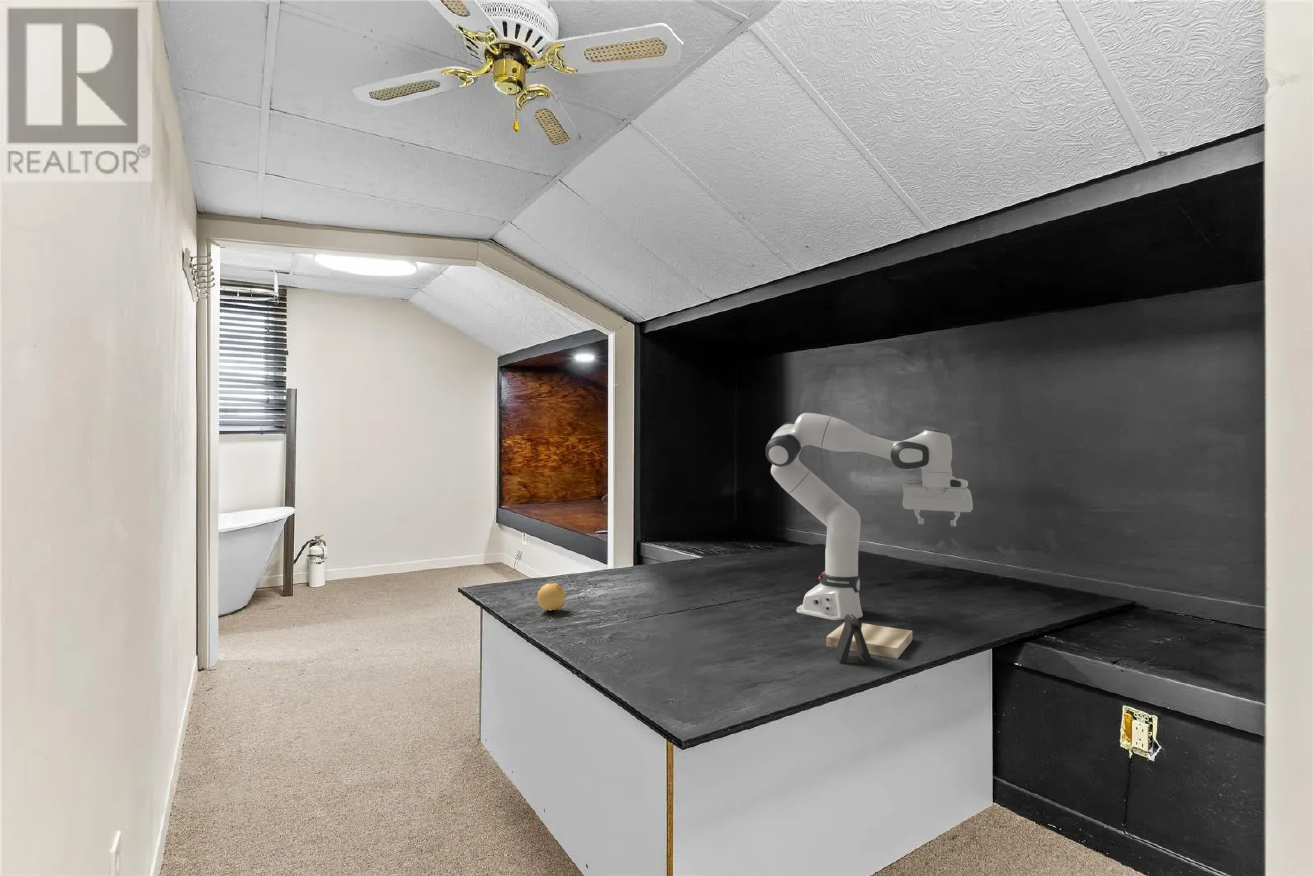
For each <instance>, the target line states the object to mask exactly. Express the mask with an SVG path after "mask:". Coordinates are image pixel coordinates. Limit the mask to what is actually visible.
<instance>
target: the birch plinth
mask: <svg viewBox="0 0 1313 876" xmlns="http://www.w3.org/2000/svg"><path fill="white" fill-rule="evenodd" d="M861 624H862V627H861V631H862V634H863V637H864V640H865V642H866V645H867V648H868V651H869V653H870V655H874V656H879V657H880V656H881V657H884V658H885V657H886V658H891V659H896V660H897V659H898V658H899V657H900V656H901V655H902V654H903V652H905V650H906V648H907V647H909V645H910V644H911V643H912V641H913V630H909V629H903V628H897V627H896V628H895V627H889V626H882V625H874V624H869V623H863V622H861ZM844 625H845V621H844V622H843V623H842V624H840V625H839V626H838V627H837V628H835V629H834V630H833V631H832V632H830V633H828V635H827V636H826V642H825V645H826V648H827V647H828V648H832V649H834V648H835V649H836V647H837V645H838V642H839V639H840V636H841V633H842V631H843V628H844ZM850 651H851V652H856V653H859V652H858V649H857V645H856V641H855V637H854V635H853V639H852V642H851V646H850V650H849V652H850Z"/></svg>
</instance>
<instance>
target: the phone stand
mask: <svg viewBox="0 0 1313 876" xmlns="http://www.w3.org/2000/svg"><path fill="white" fill-rule="evenodd" d="M851 615H852V614H851ZM852 616H853V617H854V619H853V618H852V617H851V616H850V615H849V614H847V615H846V616H845V618H844V619H843V621H844V622H845V625H844V628H843V631H842V633H841V636H840V639H839V642H838V645H837V647H836V648H835V650H834V653H833V657H834V658H835V659H836V661H837V662H838V663H839V664H846V665H847V664H849V665H850V664H854V665H855V664H871V665H872V664H873V663H874V662H873V659H872V656H871V654H870V653H869V651H868V648H867V645H866V642H865V640H864V637H863V634H862V631H861V627H862V624H861V623H862V622H861V621H860V620H859V618H856V617H855V616H854V615H852ZM853 635H854V637H855V641H856V645H857V649H858V652H857V653H858V655H849V652H850V646H851V642H852V639H853Z"/></svg>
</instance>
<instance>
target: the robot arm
mask: <svg viewBox="0 0 1313 876" xmlns="http://www.w3.org/2000/svg"><path fill="white" fill-rule="evenodd" d="M765 446H766V447H765V457H766V459H767V460H768V462H769V463H771V467H770V474H771V476H772V477H773V479H774V480H775V482H776V483H778V484H779V486H780V487H781V488H782V489H783V490H784V491H785V492H786V493H787V494H789V495H790V496H791V497H792V498H793V499H794V500H795V501H797V503H798V504H800V505H801V506H803V507H804V509H806V510H807V511H808V512H809V513H810V514H811V515H813V516H814V517H815V518H817V520H819V521H820V522H821V523H822V524H823V525H824V526H826V541H825V542H826V543H825V552H824V554H825V555H824V556H825V559H824V561H825V562H824V563H825V565H824V567H825V568H824V571H823V572H822V573H821V574H820V575H819V576H818V580H819V584H817V585H815V586H813V588H811V589H810V590H808V591H807V592H806V593H805V595H804V597H803V601H802V604H800V605H799V606H797V607H796V612H797V613H798V614H801V615H802V614H803V615H808V616H811V617H812V616H813V617H817V618H821V619H827V620H831V621H841V620H844V618H845V616H846V615H847V614H849V615H850V616H851V617H852V618H853V619H854V617H853V616H852V615H854V616H855V617H856V618H857V619H860V618H862V617H863V615H864V614H863V611H862V607H861V601H860V593H859V592H860V590H861V589H860V586H861V581H860V575H859V546H860V539H861V538H860V536H861V524H862V523H861V522H862V521H861V520H862V519H861V515H860V514H859V512H858V510H856V509H855V508H854V507H853V506H851V505H850V504H848V503H847V502H846V501H845V500H844V499H843V498H842V497H840V495H838V494H837V493H836V492H835V491H834V490H833V489H832V488H831V487H829V486H828V485H827V484H826V483H825V482H824V481H822V479H821V478H819V477H818V476H817V475H816V474H814V472H812V471H811V470H810V469H809V468H807V467H806V466H805V465H804V464H803V463H802V461H801V460H800V458H799V456H800V455H801V454H802V452H803V449H804V447H805V446H806V447H807V446H813V447H817V448H820V449H823V450H826V451H832V452H837V453H838V452H841V453H842V452H843V453H848V452H849V453H850V452H861V453H865V454H869V455H874V456H877V457H880V458H883V459H886V460H889V461H890V462H892V464H893V465H894V466H895V467H897V469H900V470H902V471H912V470H916V469H921V480H911V479H910V480H906V481H905V482H903V483H902V485H901V486H902V487H901V491H902V493H903V496H902V497H903V498H902V507H903V509H904V510H914V511H913V512H914V515H915V516H916V518H917V525H925V518H924V517H921V515H920V513H921V511H935V512H951V513H952V512H953V514H954V516H955V517H954V518H953V519H951V520H950V522H949V523H950V527H957V520H958V519H959V517H960V515H961V513H971V512H972V510H973V509H974V507H973V506H974V504H973V503H974V502H973V498H972V492H971V490H970V489H969V488H968V486H969V482H968V480H967V479H963V478H960V477H957V476H953V469H952V465H951V464H952V460H953V445H952V439H951V437H950V435H949V434H948V433H946V432H945V431H941V430H936V429H924V430H923V431H922V432H920V433H919V434H917V435H914V436H912V437H910V438H908V439H904V440H890V439H886V438H882V437H879V436H876V435H872V434H869V433H867V432H865V431H862V430H861V429H859V428H858V427H857V426H855V425H853V424H851V423H849V422H848V421H845V420H842V419H841V418H838V417H833V416H831V415H825V414H822V413H821V414H820V413H814V412H804V413H801V414H800V415H798V417H797V418H796V419H795V421H788V422H785V423H783V424H782V425H781V426H780V427H779V428H778V429H776V431H775V432H774V433H773V434H772V436H771V438H770V440H768V443H766V445H765ZM851 614H852V615H851Z"/></svg>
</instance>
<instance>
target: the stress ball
mask: <svg viewBox="0 0 1313 876" xmlns="http://www.w3.org/2000/svg"><path fill="white" fill-rule="evenodd" d="M565 601H566V592H565V590H564V587H563V586H562V585H560V584H558V583H556V582H553V581H551V582H548V583H546V584H543V585H542V586H541V588H539V590H538V592H537V603H538V605H539V606H540V608H541V609H543V610H544V609H558V610H559V609H562V608H563V607H564V605H565Z"/></svg>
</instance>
